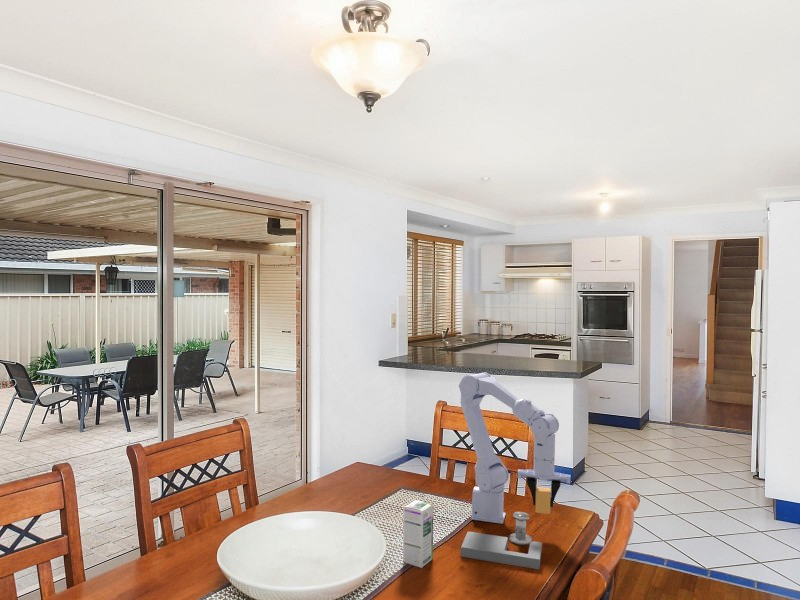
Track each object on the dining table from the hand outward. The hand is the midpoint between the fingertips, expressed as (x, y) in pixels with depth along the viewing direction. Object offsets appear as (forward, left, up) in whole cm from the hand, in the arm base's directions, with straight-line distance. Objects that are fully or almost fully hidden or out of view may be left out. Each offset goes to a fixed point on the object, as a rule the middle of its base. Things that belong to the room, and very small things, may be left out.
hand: (543, 505), depth 161 cm
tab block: (0, 0, -2) cm, 2 cm away
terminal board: (-10, -16, -9) cm, 20 cm away
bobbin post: (-6, -6, -9) cm, 12 cm away
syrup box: (-30, -27, -9) cm, 41 cm away
